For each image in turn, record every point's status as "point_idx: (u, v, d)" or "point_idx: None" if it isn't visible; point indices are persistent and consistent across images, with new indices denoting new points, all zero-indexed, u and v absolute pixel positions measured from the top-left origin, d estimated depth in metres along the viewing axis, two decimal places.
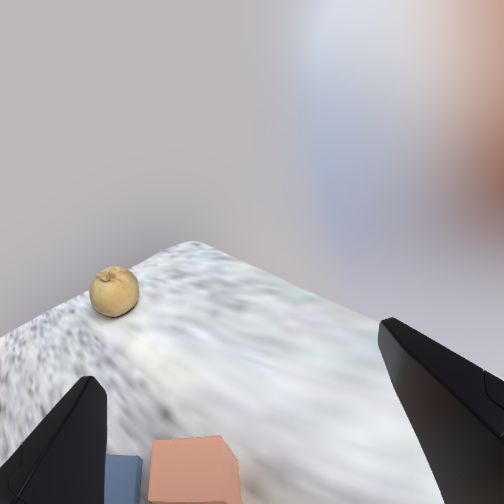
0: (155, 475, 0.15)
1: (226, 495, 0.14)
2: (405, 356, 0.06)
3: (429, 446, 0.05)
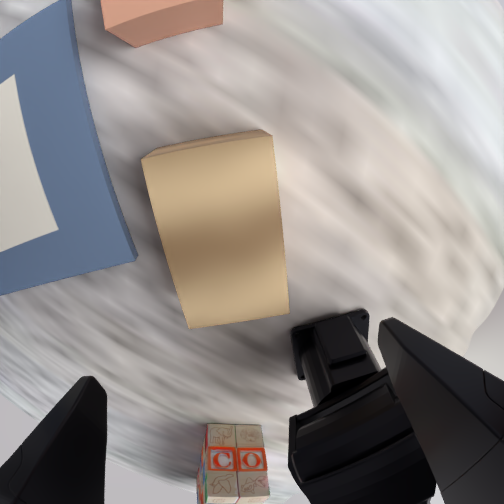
0: None
1: None
2: (405, 356, 0.06)
3: (429, 446, 0.05)
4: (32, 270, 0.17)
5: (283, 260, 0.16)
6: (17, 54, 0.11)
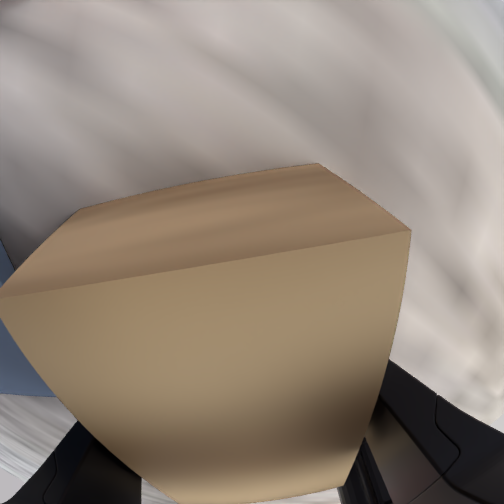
0: None
1: None
2: None
3: (383, 466, 0.05)
4: None
5: (354, 452, 0.06)
6: None
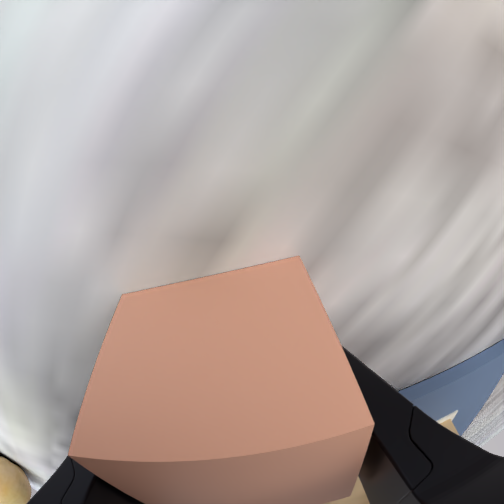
0: None
1: (323, 395, 0.04)
2: None
3: (361, 473, 0.05)
4: (463, 423, 0.15)
5: None
6: None
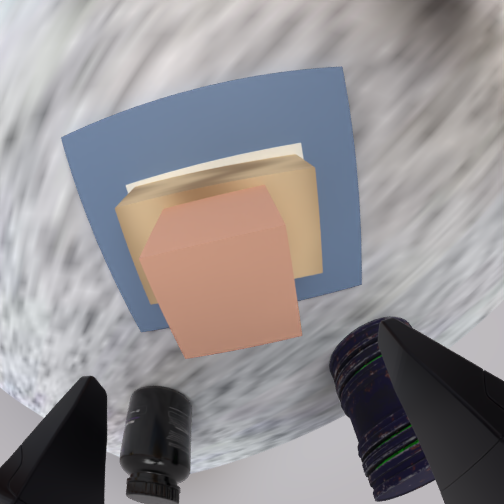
0: (252, 339, 0.12)
1: (265, 220, 0.10)
2: (405, 356, 0.06)
3: (429, 446, 0.05)
4: (341, 197, 0.19)
5: (240, 181, 0.14)
6: (106, 183, 0.17)
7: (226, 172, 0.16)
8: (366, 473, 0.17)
